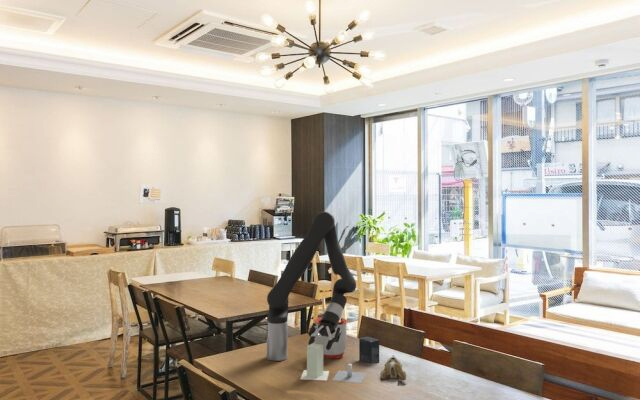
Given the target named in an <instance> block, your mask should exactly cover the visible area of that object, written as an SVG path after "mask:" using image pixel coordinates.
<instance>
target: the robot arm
mask: <svg viewBox="0 0 640 400" xmlns="http://www.w3.org/2000/svg"><path fill="white" fill-rule="evenodd" d="M335 220H336V219H335V217H334V215H333V214H332V213H331V212H329V211H320V212H318V213H317V214H316V215H315V217H314V218H313V222H312V223H311V226H310V228H309V230H308V231H307V234H306V235H305V236H304V238H303V239H302V240H301V241H300V243H299V244H298V245H297V247H296V249H295V250H294V251H293V253H292V255H291V257H290V258H289V260H288V261H287V263H286V265H285V268H284V270H283V271H282V273H281V276H280V278H279V279H278V281H277V282H276V284H274V286H273V288H272V289H270V290H269V292H268V293H267V296H266V301H267V304H268V315H267V338H266V360H268V361H269V360H270V361H274V362H277V361H278V362H280V361H285V360H287V358H288V320H289V319H288V316H289V296H290V294H291V291H292V289H294V286H296V284H297V282H299V280H300V279H301V278H302V277H303V275H304V274H305V272H306V271H307V269H308V268H309V266H310V264H311V262H313V260H314V257H315V255H316V253H317V251H318V248H319V246H320V244H321V242H323V240H324V243H325V246H326V252H327V257H328V260H329V264H330V266H331V271H332V272H333V274H334V275H335V276H340V278H339V279H337V280H336V281H335V282H334V284H333V288H332V296H331V299H330V301H329V303H328V305H327V306H326V308H325V311H324V312H323V315H322V319H321V323H320V324H319V325H316V324H315V322H313V323H312V325H311V327H310V329H309V331H308V333H307V334H308V336H309V341H308V342H307V343H308V345H310V344H312V343H315V339H316V338H317V337H320V336H326V337H328V336H329V339H330V340H329V341H328V343H327V346H326V349H327V350H329V349H331V347H332V344H333V343H334V342H338V341H339V338H340V335H341V332H342V331H341V329H340V327H338V328H336V327H337V325H338V323H339V322H341V318H342V315H343V312H344V309H345V307H346V304H347V302H348V299H347V297H346V295H345V294H351V293H353V292H355V290H356V289H357V283H356V279H355V277H354V275H353V274H352V272H351V271H350V269H349V268H348V265H347V262H346V259H345V255H344V254H343V250H342V247H341V245H340V242H339V239H338V235H337V230H336V224H335V223H336V221H335ZM317 328H318V329H317ZM335 331H336V334H335V337H334V338H333V335H332V334H333V333H334V332H335ZM318 332H319V334H318Z"/></svg>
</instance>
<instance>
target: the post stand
mask: <svg viewBox="0 0 640 400" xmlns="http://www.w3.org/2000/svg"><path fill="white" fill-rule="evenodd" d="M346 369H347V370H338V371H337V373H336V374H335V375H334V377H332V381H335V382H344V383H345V382H346V383H353V384H362V382H363V381H364V379H365V377H366V375H367V372H359V371H358V372H357V371H353V363H347V364H346Z"/></svg>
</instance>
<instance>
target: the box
mask: <svg viewBox="0 0 640 400" xmlns="http://www.w3.org/2000/svg"><path fill="white" fill-rule="evenodd" d="M358 342H359V345H358V346H359V348H358V349H359V352H358V353H359V357H358V358H359V362H362V363H370V364H379V363H380V339H377V338H374V337H370V336H364V337H359V341H358Z"/></svg>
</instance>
